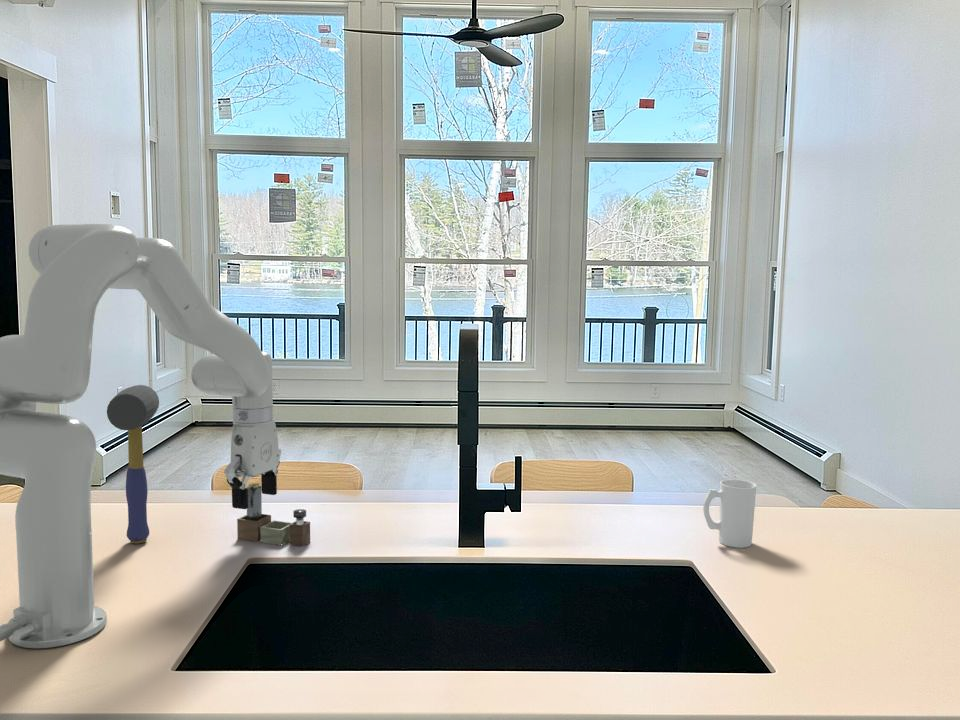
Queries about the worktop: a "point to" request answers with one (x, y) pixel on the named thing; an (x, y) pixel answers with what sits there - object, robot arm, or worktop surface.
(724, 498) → the mug
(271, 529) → the compartment holder
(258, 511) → the gray yellow-capped cylinder
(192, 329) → the robot arm
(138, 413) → the rubber mallet
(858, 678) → the worktop surface
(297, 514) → the round dark gray knob
